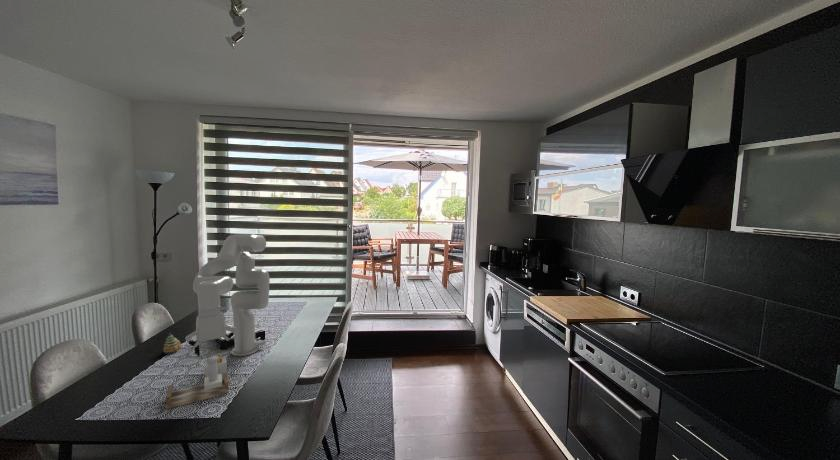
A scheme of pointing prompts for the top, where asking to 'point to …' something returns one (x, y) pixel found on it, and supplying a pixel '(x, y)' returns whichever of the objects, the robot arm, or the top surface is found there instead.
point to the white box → (218, 367)
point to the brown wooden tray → (194, 394)
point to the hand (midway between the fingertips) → (212, 352)
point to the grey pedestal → (212, 374)
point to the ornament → (171, 345)
